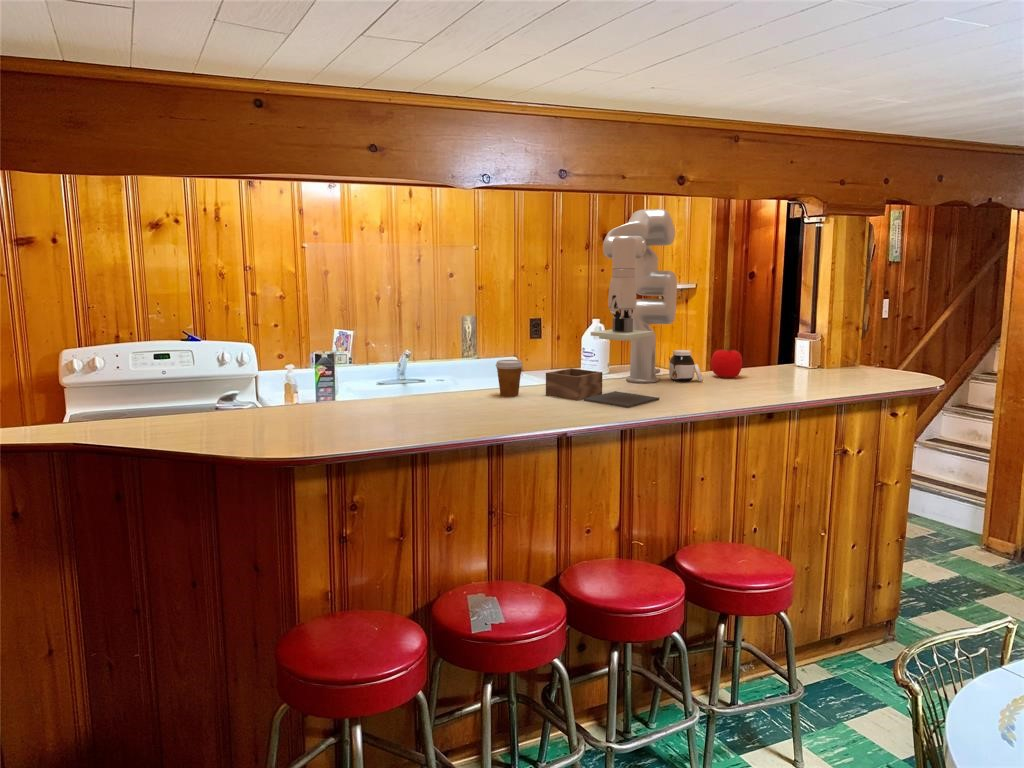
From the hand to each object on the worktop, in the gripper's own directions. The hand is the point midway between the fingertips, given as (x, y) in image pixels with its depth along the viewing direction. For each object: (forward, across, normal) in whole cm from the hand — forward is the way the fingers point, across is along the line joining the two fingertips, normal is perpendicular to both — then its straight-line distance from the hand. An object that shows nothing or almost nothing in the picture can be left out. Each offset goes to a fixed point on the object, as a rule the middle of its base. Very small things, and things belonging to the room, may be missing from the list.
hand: (622, 329), depth 243 cm
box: (+24, +3, -18) cm, 30 cm away
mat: (+24, 0, 0) cm, 24 cm away
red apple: (+24, -67, +3) cm, 71 cm away
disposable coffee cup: (+24, +18, -35) cm, 46 cm away
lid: (+3, 0, 0) cm, 3 cm away
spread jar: (+24, -49, -4) cm, 55 cm away
